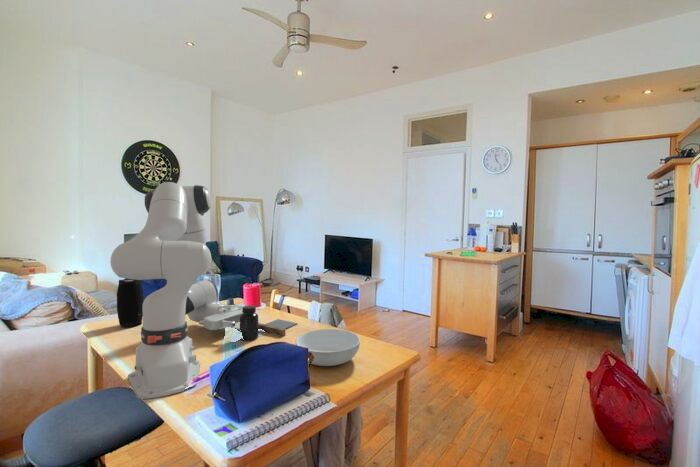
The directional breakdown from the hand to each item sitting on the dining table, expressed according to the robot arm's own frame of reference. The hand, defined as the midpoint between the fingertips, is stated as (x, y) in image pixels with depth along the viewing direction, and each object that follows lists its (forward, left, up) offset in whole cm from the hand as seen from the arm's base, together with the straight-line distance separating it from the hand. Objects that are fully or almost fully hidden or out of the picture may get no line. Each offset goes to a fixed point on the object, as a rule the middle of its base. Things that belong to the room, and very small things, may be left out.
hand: (243, 321), depth 131 cm
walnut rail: (+1, -9, -6) cm, 11 cm away
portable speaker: (+36, +37, -6) cm, 53 cm away
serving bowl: (-35, -19, -6) cm, 40 cm away
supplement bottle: (-3, -2, -6) cm, 7 cm away
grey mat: (+6, -16, -6) cm, 18 cm away
